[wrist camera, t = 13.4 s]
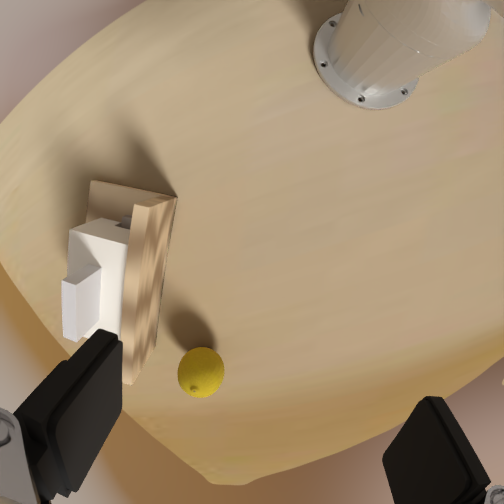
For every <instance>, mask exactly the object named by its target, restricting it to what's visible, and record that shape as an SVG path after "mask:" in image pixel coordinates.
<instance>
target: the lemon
mask: <svg viewBox="0 0 504 504" xmlns="http://www.w3.org/2000/svg"><path fill="white" fill-rule="evenodd" d="M223 377H224V364H223V361H222V359H221V357H220V356H219V355H218V354H217V353H216V352H215V351H214V350H212V349H210V348H206V347H198V348H194V349H192V350H190V351H189V352H187V353H186V354H185V355H184V356H183V358H182V359H181V361H180V364H179V367H178V381H179V384H180V386H181V388H182V389H183V390H184V391H185V392H186V393H187V394H189V395H191V396H193V397H198V398H203V397H207V396H209V395H212V394H213V393H214V392H215V391H216V390H217V389H218V388H219V386H220V384H221V383H222V381H223Z"/></svg>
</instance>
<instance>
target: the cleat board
mask: <svg viewBox="0 0 504 504" xmlns="http://www.w3.org/2000/svg"><path fill="white" fill-rule="evenodd" d="M177 199H178V197H175V196H170V195H165V194H161V193H156V192H151V191H147V190H142V189H137V188H132V187H128V186H123V185H118V184H113V183H108V182H103V181H98V180H93V181H91V183H90V190H89V197H88V205H87V214H86V223H88V222H91V221H93V220H96V219H99V218H105V219H109V220H113V221H117V222H121V228H125V229H129V230H130V235H129V243H128V251H127V260H126V270H125V280H124V291H123V304H122V320H121V341H122V342H123V362H122V383H125V384H128V385H131V386H132V384H133V383H134V381H135V379H136V378H137V376H138V374H139V373H140V371H141V369H142V368H143V366H144V364H145V363H146V361H147V359H148V358H149V356H150V354H151V353H152V351H153V349H154V348H155V346H156V337H157V328H158V319H159V311H160V303H161V296H162V289H163V282H164V275H165V268H166V262H167V255H168V249H169V243H170V237H171V231H172V226H173V220H174V214H175V209H176V204H177Z"/></svg>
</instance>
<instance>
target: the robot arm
mask: <svg viewBox="0 0 504 504" xmlns="http://www.w3.org/2000/svg"><path fill="white" fill-rule="evenodd" d="M491 8H493V9H494V10H495V11H496V12H497V13H498V14H500V15H501V16H502V17H503V18H504V0H348V3H347V5H346V7H345V9H344V11H343V12H342V13H338V14H336V15H334V16H332V17H331V18H329V19H328V20H327V21H326V22H325V23H323V25H322V26H321V27H320V29H319V30H318V32H317V35H316V37H315V41H314V45H313V57H314V62H315V66H316V68H317V71H318V73H319V75H320V77H321V78H322V80H323V81H324V83H325V84H326V85H327V86H328V87H329V89H330V90H331V91H332V92H333V93H335V94H336V95H337V96H338V97H340V98H341V99H343V100H345V101H346V102H348V103H350V104H352V105H355V106H357V107H360V108H365V109H370V110H382V109H387V108H391V107H394V106H396V105H398V104H400V103H402V102H404V101H405V100H406V99H407V98H408V97H410V95H411V94H412V93H413V91H414V90H415V88H416V85H417V83H418V79H419V77H420V76H422V75H424V74H426V73H427V72H429V71H431V70H433V69H435V68H437V67H439V66H441V65H443V64H444V63H446V62H448V61H450V60H452V59H454V58H456V57H458V56H460V55H462V54H464V53H466V52H467V51H469V50H471V49H472V48H474V47H475V46H476V45H478V44H479V42H480V41H481V40H482V39H483V37H484V36H485V34H486V32H487V29H488V27H489V22H490V16H491ZM330 25H332V26H333V27H332V26H330ZM321 64H323V65H325V67H322V66H321ZM401 91H402V92H403V94H402V92H401ZM358 98H360V99H361V102H359V101H358ZM122 362H123V342H122V341H121V340H118V335H117V334H115V333H112V332H109V331H106V330H104V329H101V328H100V329H98V330H96V331H95V332H94V333H93V335H92V336H91V337H90V338H89V339H88V340H87V341H86V342H85V343H84V344H83V345H82V346H81V347H80V348H79V349H78V350H77V351H76V352H75V353H74V354H73V355H72V357H71V358H70V359H69V360H68V361H67V360H64V361H62V362H60V363H59V364H58V365H57V366H56V368H54V370H53V371H52V372H51V373H50V374H49V375H48V376H47V377H46V378H45V379H44V380H43V381H42V382H41V383H40V384H39V386H38V387H37V388H36V389H35V390H34V391H33V392H32V393H31V394H30V395H29V396H28V397H27V399H26V400H25V401H24V402H23V403H22V404H21V405H20V406H19V407H18V409H17V410H16V411H15V412H14V413H13V414H12V413H10V412H9V411H7V410H4V409H2V408H0V504H52V503H51V500H52V499H54V497H55V495H56V493H59V494H61V495H63V496H65V497H67V498H68V496H69V494H70V493H71V491H73V492H77V491H78V490H79V488H80V486H81V484H82V483H83V481H84V479H85V477H86V475H87V473H88V471H89V470H90V468H91V466H92V464H93V462H94V460H95V458H96V457H97V455H98V453H99V451H100V449H101V447H102V446H103V444H104V442H105V440H106V438H107V436H108V435H109V433H110V431H111V429H112V427H113V426H114V424H115V422H116V420H117V419H118V417H119V415H120V413H121V409H122ZM382 462H383V466H384V469H385V472H386V475H387V479H388V482H389V486H390V489H391V493H392V496H393V500H394V503H395V504H504V486H501V485H495V486H492V487H491V488H490V489H489V490H488V491H487V492H486V490H485V488H486V487H487V486H488V485H489V484H490V483H491V481H490V479H489V477H488V475H487V473H486V472H485V470H484V467H483V466H482V464H481V462H480V460H479V459H478V457H477V455H476V453H475V451H474V449H473V448H472V446H471V445H470V442H469V441H468V439H467V437H466V436H465V434H464V432H463V430H462V429H461V427H460V425H459V424H458V422H457V420H456V419H455V417H454V415H453V414H452V412H451V411H450V409H449V407H448V406H447V404H446V403H445V401H444V399H443V398H442V397H435V396H426V397H424V398H423V399H422V400H421V401H419V402H418V404H417V405H416V407H415V408H414V410H413V412H412V413H411V415H410V416H409V418H408V419H407V421H406V422H405V424H404V426H403V427H402V428H401V430H400V431H399V433H398V434H397V436H396V437H395V439H394V440H393V441H392V443H391V444H390V446H389V447H388V448H387V450H386V451H385V453H384V454H383V458H382Z"/></svg>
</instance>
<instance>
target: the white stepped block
mask: <svg viewBox="0 0 504 504" xmlns="http://www.w3.org/2000/svg"><path fill="white" fill-rule="evenodd" d="M129 235H130V230H129V229H125V228H121V222H117V221H113V220H109V219H105V218H99V219H96V220H93V221H91V222H88V223H85V224H82V225H80V226H77V227H74V228H72V229H69V244H68V267H67V277H66V278H65V279H63V280H62V322H63V337H65V338H67V339H70V340H72V341H75V342H78V341H79V340H80V339H81V338H82V337H86V338H88V339H89V338H90V337H91V336H92V335H93V333H94V332H95V331H96V330H98V329H100V328H101V329H104V330H106V331H109V332H112V333H115V334H117V335H118V340H121V320H122V304H123V291H124V280H125V270H126V260H127V251H128V243H129Z"/></svg>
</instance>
